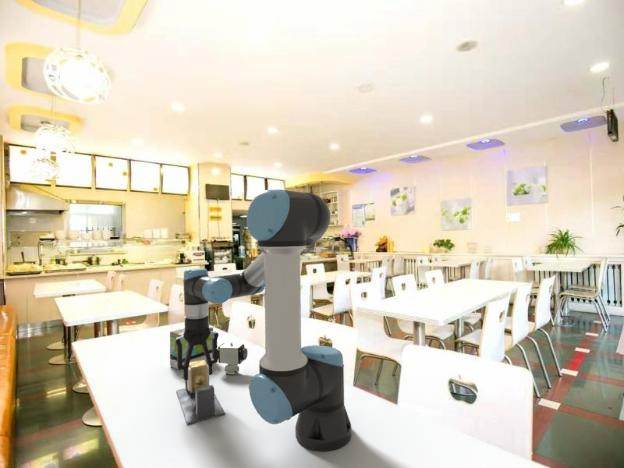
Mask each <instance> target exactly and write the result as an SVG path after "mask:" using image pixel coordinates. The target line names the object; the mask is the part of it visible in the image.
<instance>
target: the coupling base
mask: <svg viewBox="0 0 624 468" xmlns="http://www.w3.org/2000/svg"><path fill="white" fill-rule="evenodd" d="M184 381H185V383H184V385H185V386H184V388H180V389H177V390H175V392H176V395H177V398H178V401H179V404H180V407H181V411H182V413H183V417H184V420H185V423H186V425H187V426H188V425H191V424H196V423H198V422H203V421H206V420H210V419H214V418H216V417H221V416H224V415H226V412H225V409H224V408H223V406H222V404H221V403H220V401H219V400H218V397H217V396H216V393H215V387H214V386H213V384H211V385H210V384H209V386H206V387H202V388H197V389H195V392H193V393H192V392H191V391H188V388H187V380H184Z"/></svg>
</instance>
